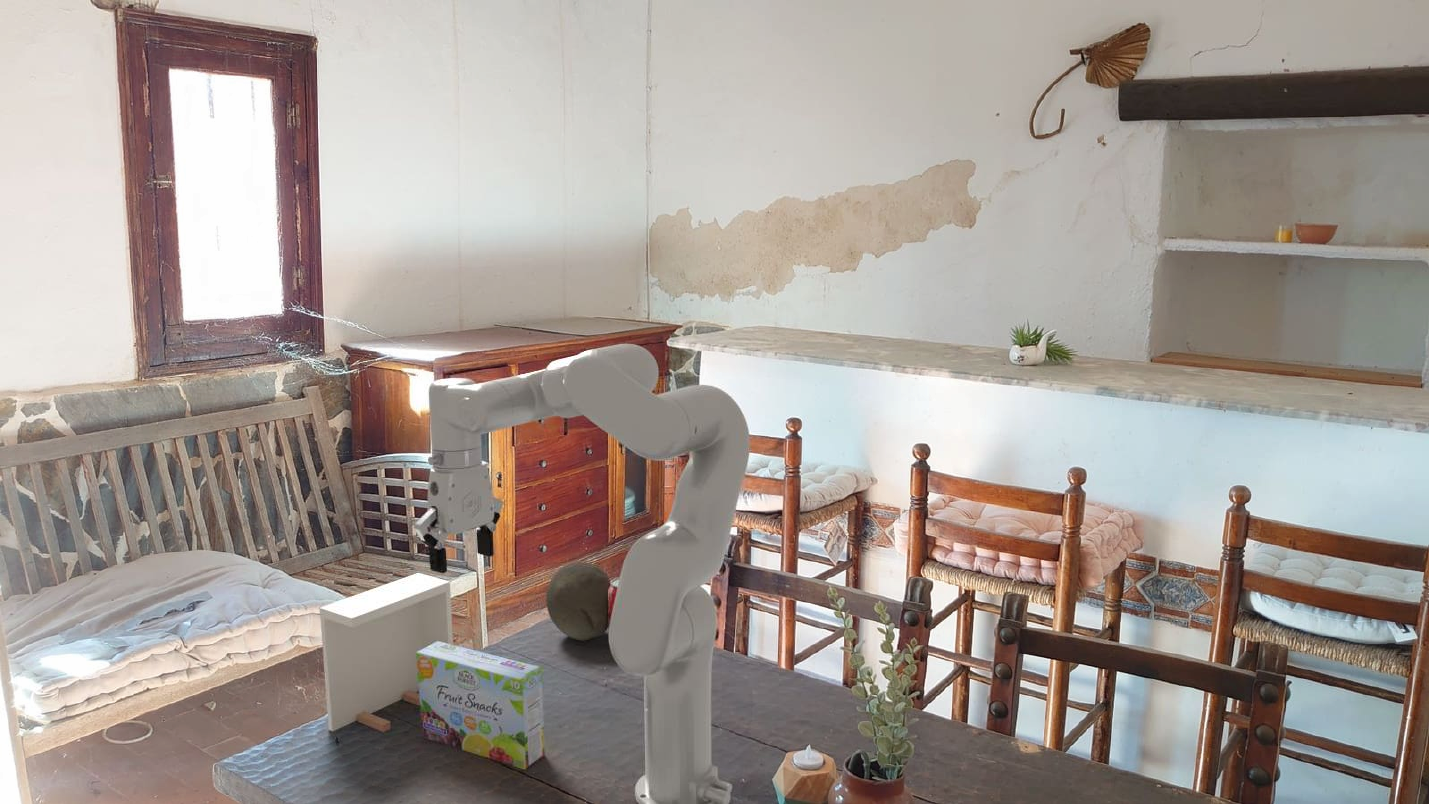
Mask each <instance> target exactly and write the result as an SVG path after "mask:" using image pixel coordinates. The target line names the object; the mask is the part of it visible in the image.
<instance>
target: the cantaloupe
mask: <svg viewBox="0 0 1429 804" xmlns="http://www.w3.org/2000/svg"><path fill="white" fill-rule="evenodd" d="M610 582H611V580H610V577H609V576H608V575H607V573H606V572H605V571H604V570H603V569H602V568H601V567H600V566H597V564H594V563H591V562H571V563H568V564H565V565H564V566H562V567H561V568H558V570H557V571H556V572H554V574H553V576H552V577H551V578H550V580H549V583H548V585H547V588H546V591H545V603H546V609H547V612H548V615H549V617H550V619H551V622H552V623H553V624H554V625H555V627H556V628H557V629H558V630H559V631H560V632H561V633H562V634H564V635H565V636H567V637H569V638H571V639H574V640H576V641H582V642H583V641H591V640H593V639H596V638H598V637H600V636H602V635H604V634H605V633H606V632H607V631H608V590H609V587H610V585H611V583H610Z"/></svg>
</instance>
